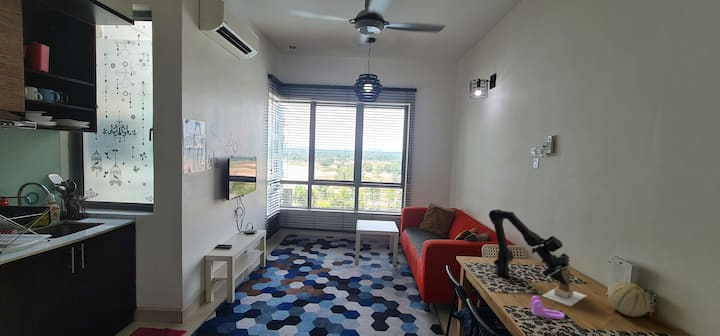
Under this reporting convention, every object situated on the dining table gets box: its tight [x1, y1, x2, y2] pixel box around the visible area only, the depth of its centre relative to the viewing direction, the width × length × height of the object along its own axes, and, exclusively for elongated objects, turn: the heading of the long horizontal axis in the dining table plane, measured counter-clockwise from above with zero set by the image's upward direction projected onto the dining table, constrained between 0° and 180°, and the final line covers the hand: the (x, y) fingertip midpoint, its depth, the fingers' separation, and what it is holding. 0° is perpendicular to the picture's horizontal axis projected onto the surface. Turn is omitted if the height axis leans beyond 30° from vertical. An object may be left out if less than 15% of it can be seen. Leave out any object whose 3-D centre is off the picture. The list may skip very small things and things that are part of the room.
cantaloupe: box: [607, 281, 651, 318], centre depth 144 cm, size 15×15×15 cm
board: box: [541, 285, 587, 307], centre depth 160 cm, size 20×13×1 cm, turn 126°
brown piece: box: [553, 268, 574, 299], centre depth 160 cm, size 7×6×13 cm
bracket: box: [530, 295, 565, 320], centre depth 142 cm, size 13×6×7 cm, turn 73°
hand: (568, 284), depth 158 cm, fingers closed on brown piece, 4 cm apart
